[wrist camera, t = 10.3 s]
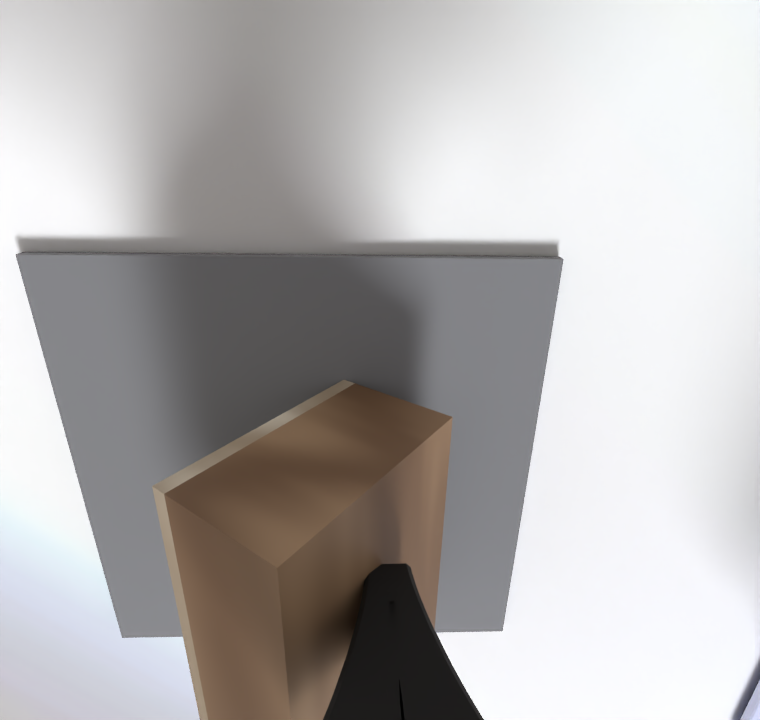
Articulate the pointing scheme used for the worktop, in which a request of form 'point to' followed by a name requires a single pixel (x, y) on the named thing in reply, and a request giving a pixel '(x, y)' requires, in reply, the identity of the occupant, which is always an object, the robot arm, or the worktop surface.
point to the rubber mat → (291, 387)
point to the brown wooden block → (299, 544)
